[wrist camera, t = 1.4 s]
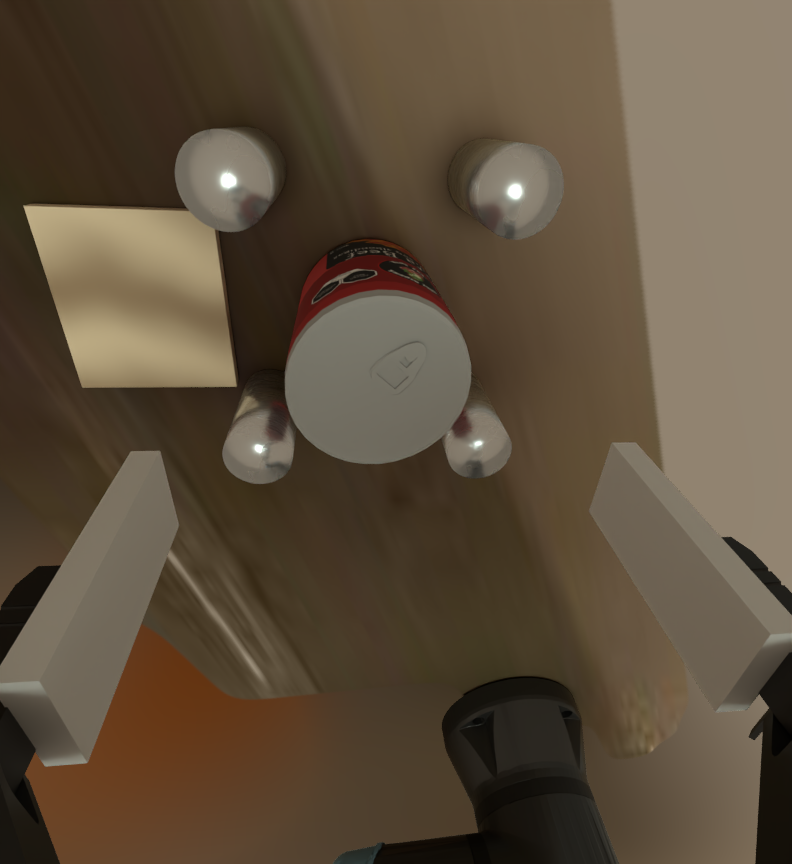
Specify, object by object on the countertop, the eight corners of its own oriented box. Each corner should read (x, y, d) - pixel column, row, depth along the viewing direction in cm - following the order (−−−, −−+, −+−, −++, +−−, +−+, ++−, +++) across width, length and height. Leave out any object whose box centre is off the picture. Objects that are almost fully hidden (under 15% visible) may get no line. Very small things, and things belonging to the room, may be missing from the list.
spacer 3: (507, 214, 28) (553, 240, 22) (444, 212, 27) (473, 238, 22) (519, 139, 26) (572, 146, 20) (451, 136, 25) (484, 142, 20)
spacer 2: (302, 418, 33) (294, 483, 27) (247, 419, 33) (227, 484, 27) (299, 369, 31) (290, 427, 26) (240, 369, 31) (217, 428, 25)
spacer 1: (288, 207, 26) (274, 233, 21) (218, 205, 26) (184, 230, 20) (283, 128, 25) (266, 131, 19) (208, 124, 24) (166, 126, 18)
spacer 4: (477, 416, 35) (506, 477, 29) (426, 417, 34) (444, 479, 28) (484, 369, 33) (516, 424, 27) (430, 369, 32) (451, 425, 26)
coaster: (238, 381, 31) (236, 386, 31) (87, 381, 31) (82, 387, 30) (215, 209, 26) (212, 211, 26) (32, 203, 25) (23, 205, 25)
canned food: (455, 274, 29) (510, 346, 20) (390, 383, 33) (411, 489, 23) (337, 207, 27) (336, 254, 17) (280, 333, 30) (254, 429, 21)
